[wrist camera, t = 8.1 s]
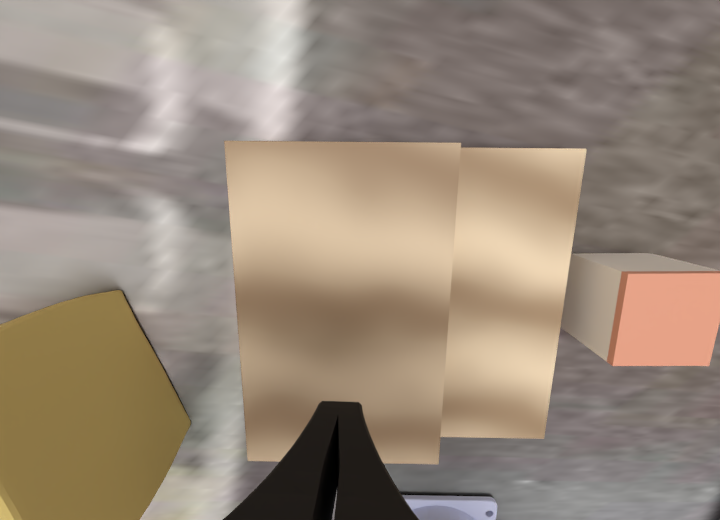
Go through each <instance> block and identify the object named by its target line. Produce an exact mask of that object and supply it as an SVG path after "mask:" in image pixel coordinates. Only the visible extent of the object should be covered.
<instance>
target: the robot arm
mask: <svg viewBox="0 0 720 520" xmlns="http://www.w3.org/2000/svg"><path fill="white" fill-rule="evenodd" d="M336 490H337V501H336V510H335V519H334V520H496V515H497V503H496V501H495V499H494V498H492V497H483V496H429V495H401V493H400V492H399V490H398V488H397V487H396V485H395V484H394V482H393V480H392V479H391V477H390V475H389V473H388V471H387V470H386V468H385V466H384V464H383V462H382V460H381V458H380V456H379V454H378V452H377V450H376V447H375V445H374V443H373V440H372V438H371V436H370V433H369V431H368V428H367V425H366V422H365V418H364V415H363V410H362V405H361V404H360V403H359V402H343V401H321V402H320V403H319V404H318V406H317V408H316V410H315V412H314V414H313V416H312V417H311V419H310V421H309V422H308V424H307V425H306V427H305V429H304V430H303V431H302V433H301V434H300V436H299V437H298V439H297V440H296V442H295V443H294V444H293V446H292V447H291V448H290V450H289V451H288V452H287V453H286V455H285V456H284V457H283V458H282V460H281V461H280V462H279V464H278V465H277V466H276V467H275V468H274V469H273V471H272V472H271V473H270V474H269V475H268V476H267V477H266V479H265V480H264V481H263V482H262V483H261V484H260V485H259V486H258V487H257V488H256V489H255V490H254V491H253V492H252V493H251V494H250V495H249V496H248V497H247V498H246V499H245V500H244V501H243V502H242V503H241V504H240V505H239V506H238V507H237V508H235V509H234V510H233V511H232V512H231V513H230V514H229V515H228V516H227V517H225V518H224V519H223V520H332V514H333V508H334V502H335V496H336Z"/></svg>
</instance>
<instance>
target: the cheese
mask: <svg viewBox="0 0 720 520" xmlns="http://www.w3.org/2000/svg"><path fill="white" fill-rule="evenodd" d="M190 425H191V421H190V419H189V417H188V415H187V413H186V412H185V410H184V408H183V406H182V404H181V402H180V400H179V398H178V396H177V394H176V392H175V390H174V388H173V386H172V385H171V383H170V381H169V379H168V377H167V375H166V373H165V371H164V369H163V367H162V366H161V364H160V362H159V360H158V358H157V357H156V355H155V353H154V351H153V349H152V348H151V346H150V344H149V342H148V340H147V339H146V337H145V335H144V333H143V332H142V330H141V328H140V326H139V325H138V323H137V321H136V319H135V317H134V315H133V313H132V311H131V309H130V307H129V305H128V303H127V301H126V299H125V297H124V295H123V293H122V291H120V290H115V291H110V292H104V293H98V294H92V295H86V296H82V297H78V298H74V299H71V300H67V301H64V302H61V303H57V304H54V305H51V306H48V307H46V308H43V309H40V310H37V311H35V312H32V313H29V314H26V315H24V316H21V317H19V318H16V319H14V320H11V321H8V322H6V323H3V324H1V325H0V520H140V518H141V517H142V515H143V514H144V512H145V511H146V509H147V508H148V506H149V504H150V503H151V501H152V499H153V497H154V496H155V494H156V492H157V490H158V489H159V487H160V485H161V483H162V482H163V480H164V478H165V476H166V474H167V472H168V471H169V469H170V467H171V465H172V463H173V461H174V459H175V456H176V454H177V452H178V450H179V448H180V446H181V443H182V441H183V439H184V437H185V435H186V432H187V431H188V429H189V427H190Z"/></svg>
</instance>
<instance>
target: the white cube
mask: <svg viewBox="0 0 720 520" xmlns="http://www.w3.org/2000/svg"><path fill="white" fill-rule="evenodd" d="M719 322H720V270H716V269H712V268H708V267H704V266H700V265H696V264H692V263H688V262H684V261H680V260H676V259H672V258H668V257H664V256H660V255H656V254H652V253H571V258H570V265H569V272H568V278H567V285H566V292H565V299H564V306H563V312H562V320H561V328H562V329H563V330H565V331H566V332H567V333H569V334H570V335H572V336H573V337H574V338H576V339H577V340H578V341H580V342H581V343H582V344H584V345H585V346H586V347H588V348H589V349H590V350H592V351H593V352H595V353H596V354H597V355H599V356H600V357H601V358H603V359H604V360H605V361H607V362H608V363H609V364H611V365H612V366H709V364H710V360H711V356H712V351H713V347H714V343H715V339H716V335H717V330H718V326H719Z"/></svg>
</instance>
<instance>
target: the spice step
mask: <svg viewBox="0 0 720 520" xmlns="http://www.w3.org/2000/svg"><path fill="white" fill-rule="evenodd" d="M224 144H225V157H226V171H227V184H228V198H229V212H230V225H231V239H232V253H233V266H234V280H235V294H236V307H237V321H238V334H239V348H240V362H241V375H242V389H243V403H244V416H245V430H246V444H247V457H248V461H281V460H282V458H283V457H284V456H285V455H286V453H287V452H288V451H289V450H290V448H291V447H292V446H293V444H294V443H295V442H296V440H297V439H298V437H299V436H300V434H301V433H302V431H303V430H304V429H305V427H306V425H307V424H308V422H309V421H310V419H311V417H312V416H313V414H314V412H315V410H316V408H317V406H318V404H319V403H320V402H321V401H343V402H359V403H360V404H361V405H362V410H363V415H364V418H365V422H366V425H367V428H368V431H369V433H370V436H371V438H372V440H373V443H374V445H375V447H376V450H377V452H378V454H379V456H380V458H381V460H382V462H383V463H396V464H438V463H439V449H440V437H478V438H538V439H544V434H545V428H546V421H547V414H548V407H549V401H550V394H551V387H552V380H553V373H554V367H555V360H556V353H557V346H558V339H559V333H560V326H561V319H562V312H563V306H564V299H565V292H566V285H567V278H568V272H569V265H570V258H571V251H572V244H573V238H574V231H575V224H576V217H577V211H578V204H579V197H580V190H581V183H582V177H583V170H584V163H585V156H586V150H587V149H556V148H461V143H412V142H297V141H224Z"/></svg>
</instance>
